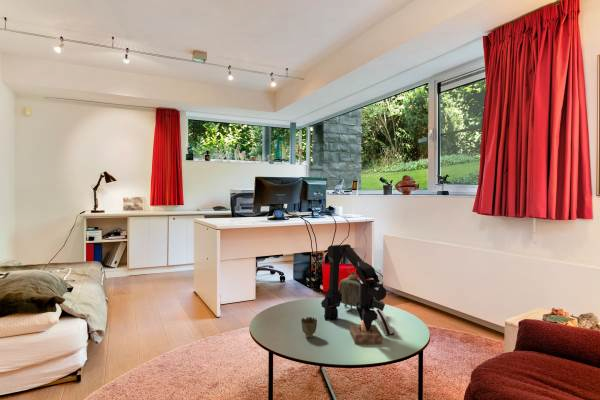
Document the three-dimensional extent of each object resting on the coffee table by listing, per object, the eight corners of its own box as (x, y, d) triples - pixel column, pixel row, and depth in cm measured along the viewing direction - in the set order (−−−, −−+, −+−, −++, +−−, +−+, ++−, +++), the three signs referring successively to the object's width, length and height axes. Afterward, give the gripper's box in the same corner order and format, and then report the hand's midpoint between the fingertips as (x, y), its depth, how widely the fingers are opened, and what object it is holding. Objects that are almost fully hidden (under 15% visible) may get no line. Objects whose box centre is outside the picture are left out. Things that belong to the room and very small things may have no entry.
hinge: (395, 335, 162) (388, 315, 161) (386, 338, 162) (379, 319, 161) (386, 322, 178) (380, 304, 178) (377, 325, 178) (371, 307, 178)
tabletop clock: (367, 310, 196) (367, 266, 195) (361, 315, 188) (361, 269, 187) (343, 305, 203) (344, 263, 203) (337, 310, 196) (337, 266, 195)
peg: (362, 340, 156) (362, 322, 156) (360, 336, 160) (360, 319, 160) (370, 340, 157) (371, 322, 156) (368, 336, 161) (368, 319, 160)
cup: (305, 341, 154) (305, 323, 154) (298, 335, 161) (298, 318, 161) (320, 338, 158) (320, 321, 158) (312, 332, 164) (312, 315, 164)
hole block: (355, 344, 152) (355, 335, 152) (350, 332, 164) (350, 324, 164) (381, 343, 153) (381, 334, 153) (374, 332, 165) (375, 324, 165)
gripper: (389, 300, 149) (388, 335, 149) (378, 288, 168) (377, 319, 168) (364, 300, 149) (363, 335, 149) (355, 288, 167) (354, 319, 168)
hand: (365, 327), depth 158 cm, fingers open, 9 cm apart
